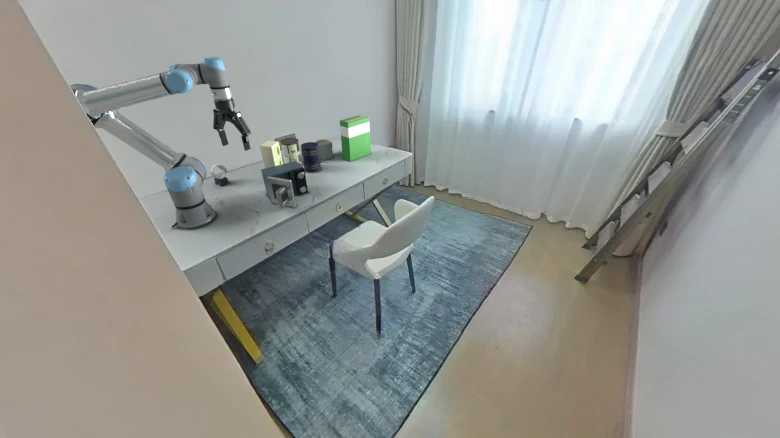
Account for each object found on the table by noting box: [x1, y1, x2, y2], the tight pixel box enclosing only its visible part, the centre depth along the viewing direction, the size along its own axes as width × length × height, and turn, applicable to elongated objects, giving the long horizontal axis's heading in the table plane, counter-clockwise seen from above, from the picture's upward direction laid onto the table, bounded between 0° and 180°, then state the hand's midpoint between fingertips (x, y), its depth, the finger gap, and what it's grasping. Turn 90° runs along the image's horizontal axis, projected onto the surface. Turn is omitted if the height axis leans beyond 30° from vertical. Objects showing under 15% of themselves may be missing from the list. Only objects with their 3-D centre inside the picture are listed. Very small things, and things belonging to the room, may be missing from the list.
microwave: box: [260, 161, 309, 200], centre depth 159 cm, size 11×18×14 cm, turn 125°
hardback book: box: [339, 114, 372, 162], centre depth 199 cm, size 18×7×24 cm, turn 138°
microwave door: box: [267, 176, 297, 209], centre depth 147 cm, size 8×13×14 cm, turn 71°
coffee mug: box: [315, 138, 334, 161], centre depth 203 cm, size 13×10×10 cm
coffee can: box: [280, 137, 303, 165], centre depth 192 cm, size 10×10×14 cm
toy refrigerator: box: [259, 140, 284, 169], centre depth 170 cm, size 8×7×21 cm
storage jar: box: [300, 141, 322, 174], centre depth 184 cm, size 10×10×15 cm
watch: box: [209, 163, 230, 187], centre depth 169 cm, size 6×8×11 cm
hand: (236, 147), depth 144 cm, fingers open, 13 cm apart
